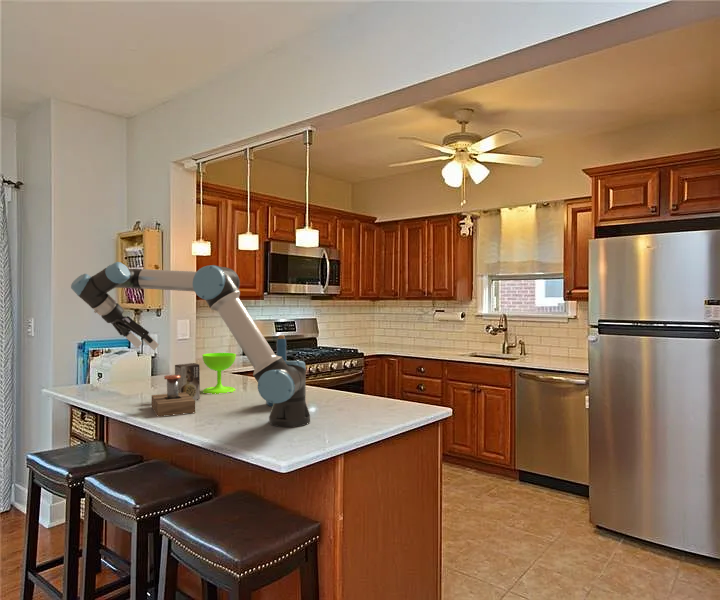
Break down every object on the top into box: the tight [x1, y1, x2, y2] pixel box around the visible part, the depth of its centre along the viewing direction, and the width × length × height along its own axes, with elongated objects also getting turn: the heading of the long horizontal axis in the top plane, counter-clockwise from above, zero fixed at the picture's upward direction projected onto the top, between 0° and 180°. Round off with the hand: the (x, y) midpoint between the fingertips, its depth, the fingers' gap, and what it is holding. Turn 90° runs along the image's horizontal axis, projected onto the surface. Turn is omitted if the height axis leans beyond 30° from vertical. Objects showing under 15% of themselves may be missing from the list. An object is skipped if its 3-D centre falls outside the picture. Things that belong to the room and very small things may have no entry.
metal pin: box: [164, 374, 181, 400], centre depth 218 cm, size 6×6×13 cm
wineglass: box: [201, 352, 237, 395], centre depth 261 cm, size 16×16×18 cm
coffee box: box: [174, 362, 201, 401], centre depth 238 cm, size 9×6×16 cm
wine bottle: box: [265, 334, 288, 408], centre depth 229 cm, size 14×13×30 cm
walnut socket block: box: [151, 392, 196, 417], centre depth 218 cm, size 20×14×5 cm
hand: (147, 346), depth 210 cm, fingers open, 13 cm apart
